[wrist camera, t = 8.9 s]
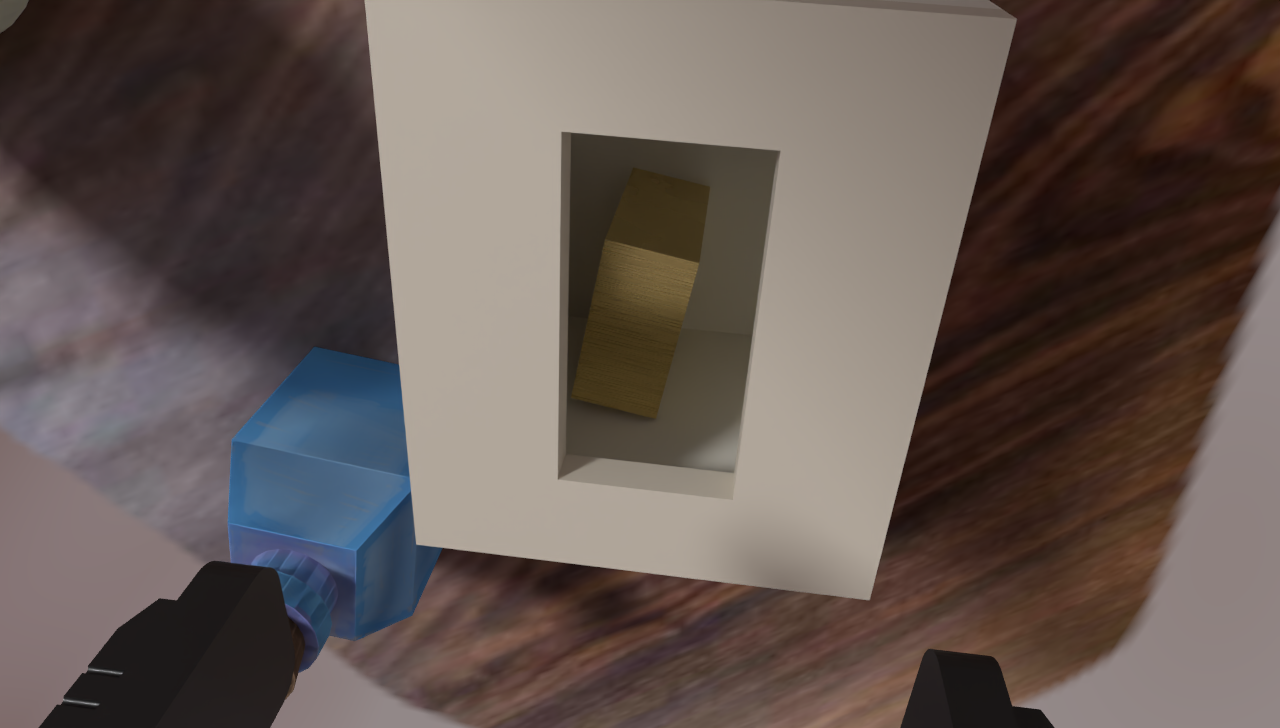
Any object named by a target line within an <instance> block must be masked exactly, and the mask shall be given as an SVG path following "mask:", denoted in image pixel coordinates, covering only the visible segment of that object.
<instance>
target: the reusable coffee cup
mask: <svg viewBox="0 0 1280 728" xmlns="http://www.w3.org/2000/svg"><path fill="white" fill-rule="evenodd" d="M28 1H29V0H0V33H1V32H3V31H4V30H6V29H7V28H8V27H10V26H11V25H12V24H13V23H14V22H15V21H16V19H17V18H18V17H19V15H20V14H21V13H22V12H23V10H24V9H25V8H26V6H27V3H28Z"/></svg>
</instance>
